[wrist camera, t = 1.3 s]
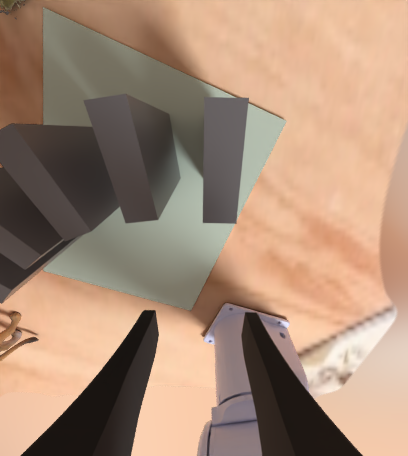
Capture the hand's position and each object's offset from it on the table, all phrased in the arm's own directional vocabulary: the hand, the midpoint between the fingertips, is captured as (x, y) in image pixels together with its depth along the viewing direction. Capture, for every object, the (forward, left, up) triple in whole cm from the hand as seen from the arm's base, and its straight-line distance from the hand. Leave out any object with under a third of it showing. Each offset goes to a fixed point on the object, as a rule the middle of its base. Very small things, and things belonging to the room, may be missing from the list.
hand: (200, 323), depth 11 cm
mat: (+6, 0, -10) cm, 12 cm away
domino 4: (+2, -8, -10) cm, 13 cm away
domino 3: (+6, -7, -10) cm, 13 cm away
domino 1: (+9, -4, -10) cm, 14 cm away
